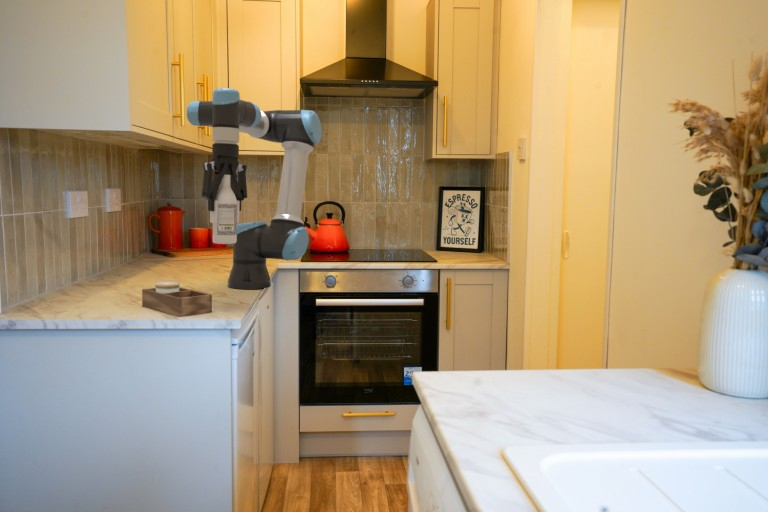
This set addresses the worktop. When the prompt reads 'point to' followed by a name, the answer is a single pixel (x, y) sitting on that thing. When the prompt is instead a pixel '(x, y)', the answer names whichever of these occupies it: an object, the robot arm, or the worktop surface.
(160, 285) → the cream jar
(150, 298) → the caddy
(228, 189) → the bath foam
